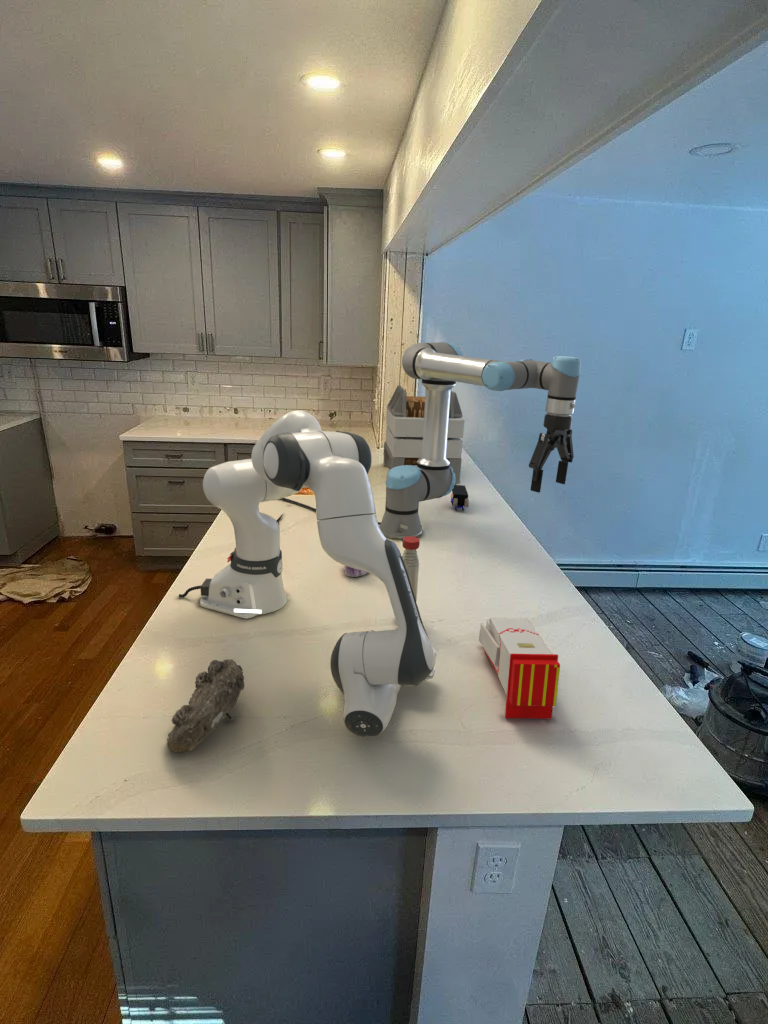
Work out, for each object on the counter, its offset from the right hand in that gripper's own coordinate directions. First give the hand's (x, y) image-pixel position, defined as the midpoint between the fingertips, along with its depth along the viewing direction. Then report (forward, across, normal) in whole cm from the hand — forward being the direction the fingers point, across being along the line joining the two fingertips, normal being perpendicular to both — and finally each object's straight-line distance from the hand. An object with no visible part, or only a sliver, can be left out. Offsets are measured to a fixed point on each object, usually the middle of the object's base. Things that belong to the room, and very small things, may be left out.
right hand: (548, 487), depth 165 cm
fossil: (+28, -105, +5) cm, 109 cm away
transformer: (+28, +53, +98) cm, 115 cm away
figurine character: (+28, +29, +55) cm, 68 cm away
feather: (+28, -34, +87) cm, 97 cm away
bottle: (+28, -51, +5) cm, 59 cm away
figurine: (+28, -42, +35) cm, 61 cm away
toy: (+28, -50, -26) cm, 63 cm away
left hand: (+22, -65, -4) cm, 69 cm away
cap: (+5, -51, +6) cm, 52 cm away
